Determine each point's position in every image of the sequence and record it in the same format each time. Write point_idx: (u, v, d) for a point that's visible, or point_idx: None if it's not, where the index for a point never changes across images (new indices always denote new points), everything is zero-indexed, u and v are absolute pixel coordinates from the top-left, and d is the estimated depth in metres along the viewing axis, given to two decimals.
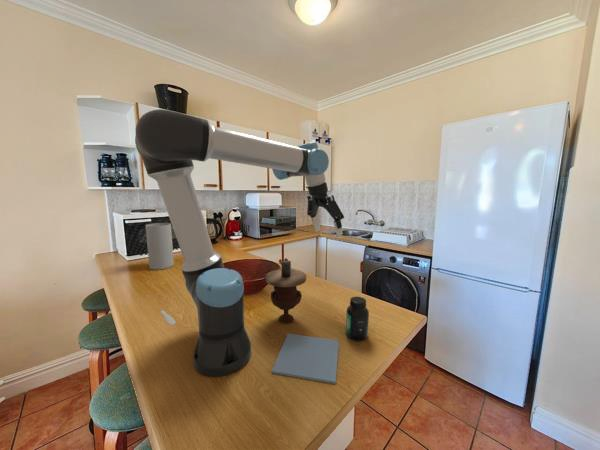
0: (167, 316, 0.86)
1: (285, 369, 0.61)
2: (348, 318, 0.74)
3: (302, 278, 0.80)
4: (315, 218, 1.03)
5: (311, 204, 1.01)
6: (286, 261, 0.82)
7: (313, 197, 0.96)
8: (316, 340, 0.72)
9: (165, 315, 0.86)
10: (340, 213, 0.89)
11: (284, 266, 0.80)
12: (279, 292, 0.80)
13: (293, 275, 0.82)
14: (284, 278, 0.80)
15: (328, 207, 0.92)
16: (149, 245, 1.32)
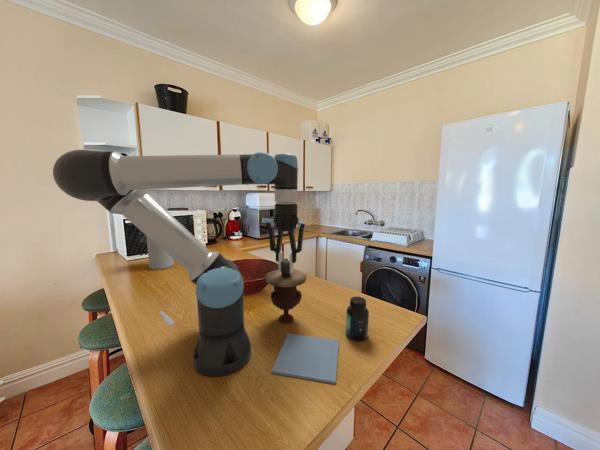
0: (166, 316, 0.85)
1: (285, 369, 0.61)
2: (348, 318, 0.74)
3: (302, 278, 0.80)
4: (281, 254, 0.82)
5: (273, 233, 0.81)
6: (286, 261, 0.82)
7: (276, 218, 0.79)
8: (316, 340, 0.72)
9: (163, 315, 0.86)
10: (301, 245, 0.80)
11: (284, 266, 0.80)
12: (279, 292, 0.80)
13: (293, 275, 0.82)
14: (284, 278, 0.80)
15: (293, 235, 0.79)
16: (149, 245, 1.32)
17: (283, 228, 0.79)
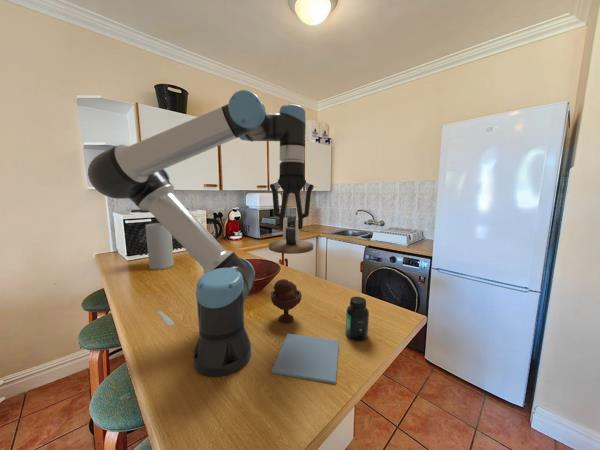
0: (165, 317, 0.85)
1: (285, 369, 0.61)
2: (348, 318, 0.74)
3: (309, 245, 0.73)
4: (286, 220, 0.74)
5: (277, 196, 0.73)
6: (291, 228, 0.75)
7: (281, 179, 0.71)
8: (316, 340, 0.72)
9: (163, 316, 0.86)
10: None
11: (289, 232, 0.73)
12: (279, 292, 0.80)
13: (298, 244, 0.75)
14: (290, 246, 0.72)
15: (299, 198, 0.72)
16: (149, 245, 1.32)
17: (289, 190, 0.72)
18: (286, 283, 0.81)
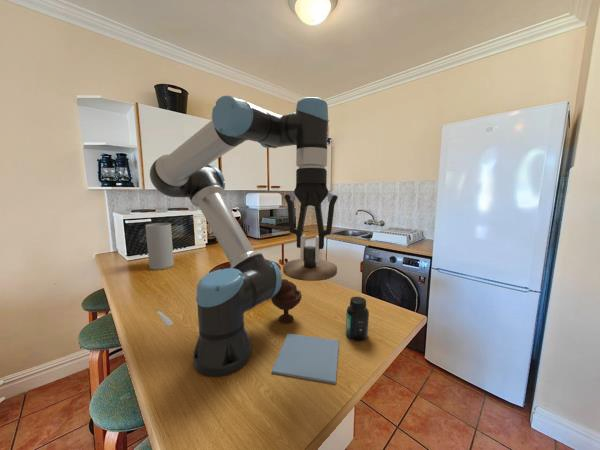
0: (164, 317, 0.85)
1: (285, 369, 0.61)
2: (348, 318, 0.74)
3: (332, 269, 0.60)
4: (304, 238, 0.61)
5: (293, 209, 0.61)
6: (310, 247, 0.62)
7: (298, 189, 0.59)
8: (316, 340, 0.72)
9: (162, 316, 0.86)
10: None
11: (308, 253, 0.60)
12: (279, 292, 0.80)
13: (319, 266, 0.62)
14: (308, 269, 0.60)
15: (320, 211, 0.59)
16: (149, 245, 1.32)
17: (307, 202, 0.59)
18: (286, 283, 0.81)
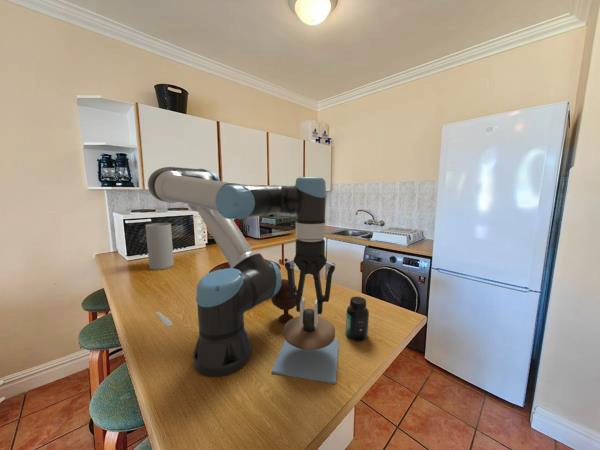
0: (163, 317, 0.85)
1: (285, 369, 0.61)
2: (348, 318, 0.74)
3: (331, 334, 0.63)
4: (303, 302, 0.64)
5: (293, 276, 0.63)
6: (309, 311, 0.65)
7: (297, 258, 0.62)
8: None
9: (161, 316, 0.86)
10: None
11: (307, 318, 0.63)
12: (279, 292, 0.80)
13: (318, 329, 0.65)
14: (308, 334, 0.62)
15: (319, 279, 0.62)
16: (149, 245, 1.32)
17: (306, 271, 0.61)
18: (286, 283, 0.81)
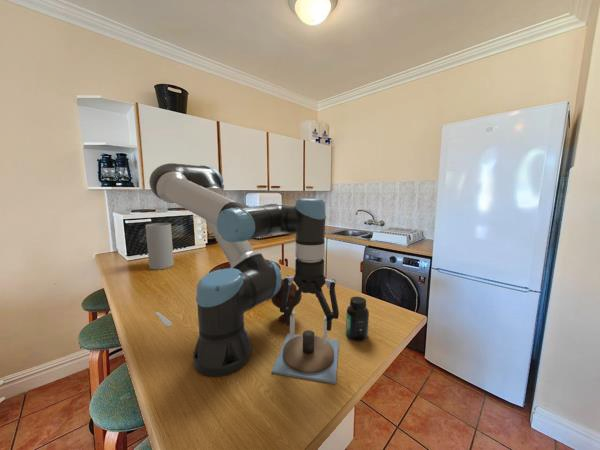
0: (163, 317, 0.85)
1: (285, 369, 0.61)
2: (348, 318, 0.74)
3: (329, 356, 0.64)
4: (293, 316, 0.65)
5: (288, 292, 0.64)
6: (309, 333, 0.66)
7: (298, 278, 0.62)
8: None
9: (160, 317, 0.85)
10: (337, 308, 0.63)
11: (306, 340, 0.64)
12: (279, 292, 0.80)
13: (317, 350, 0.66)
14: (307, 356, 0.63)
15: (322, 297, 0.62)
16: (149, 245, 1.32)
17: (304, 290, 0.62)
18: None
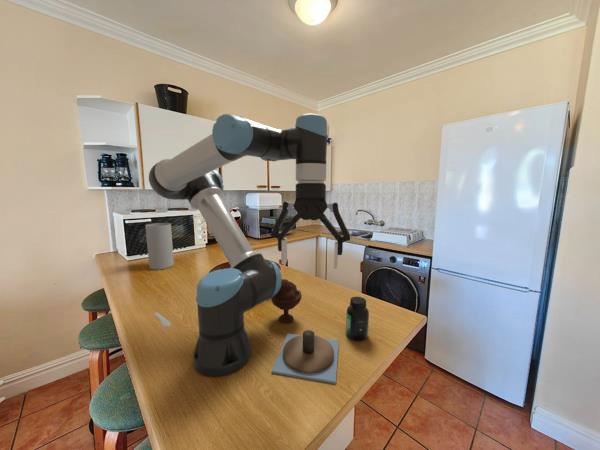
0: (162, 318, 0.84)
1: (285, 369, 0.61)
2: (348, 318, 0.74)
3: (329, 356, 0.64)
4: (285, 242, 0.63)
5: (284, 217, 0.62)
6: (308, 332, 0.66)
7: (298, 204, 0.59)
8: None
9: (159, 317, 0.85)
10: (347, 230, 0.59)
11: (306, 340, 0.64)
12: (279, 292, 0.80)
13: (317, 350, 0.66)
14: (307, 356, 0.63)
15: (327, 220, 0.59)
16: (149, 245, 1.32)
17: (302, 216, 0.60)
18: (286, 283, 0.81)
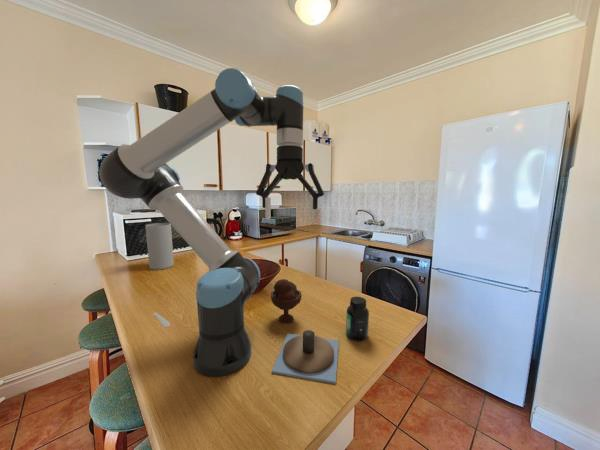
0: (161, 318, 0.84)
1: (285, 369, 0.61)
2: (348, 318, 0.74)
3: (329, 356, 0.64)
4: (269, 199, 0.72)
5: (268, 178, 0.71)
6: (309, 332, 0.66)
7: (279, 165, 0.69)
8: None
9: (159, 317, 0.85)
10: (321, 188, 0.69)
11: (306, 340, 0.64)
12: (279, 292, 0.80)
13: (317, 350, 0.66)
14: (307, 356, 0.63)
15: (304, 179, 0.69)
16: (149, 245, 1.32)
17: (283, 176, 0.69)
18: (286, 283, 0.81)
